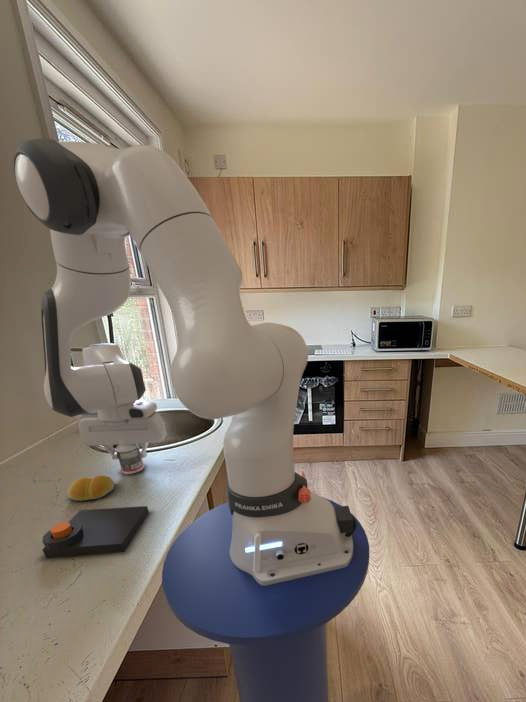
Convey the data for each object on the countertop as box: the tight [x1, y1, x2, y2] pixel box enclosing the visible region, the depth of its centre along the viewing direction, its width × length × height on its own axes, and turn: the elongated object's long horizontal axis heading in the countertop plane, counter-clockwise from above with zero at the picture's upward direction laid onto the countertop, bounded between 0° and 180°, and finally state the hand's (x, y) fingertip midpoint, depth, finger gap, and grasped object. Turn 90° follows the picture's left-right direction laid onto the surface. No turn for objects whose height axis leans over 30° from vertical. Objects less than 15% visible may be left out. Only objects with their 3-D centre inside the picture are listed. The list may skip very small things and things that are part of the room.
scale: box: [42, 505, 150, 558], centre depth 69 cm, size 14×12×4 cm
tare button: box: [49, 521, 72, 539], centre depth 65 cm, size 3×3×2 cm
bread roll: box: [67, 475, 115, 502], centre depth 83 cm, size 8×9×4 cm
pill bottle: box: [115, 440, 145, 475], centre depth 92 cm, size 5×5×10 cm
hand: (130, 457), depth 93 cm, fingers closed on pill bottle, 5 cm apart
